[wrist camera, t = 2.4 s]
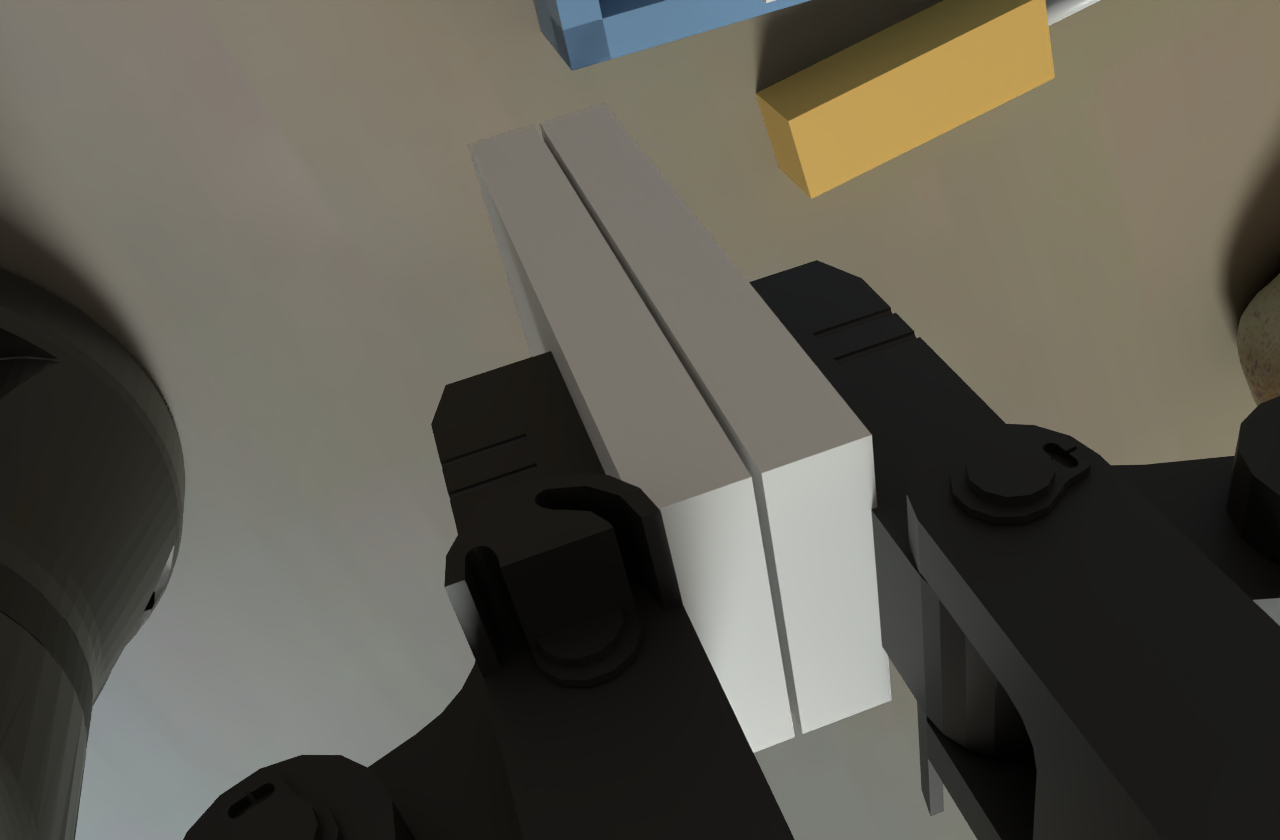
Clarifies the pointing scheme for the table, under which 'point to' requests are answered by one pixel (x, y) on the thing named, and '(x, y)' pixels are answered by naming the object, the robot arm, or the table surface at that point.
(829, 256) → the table surface
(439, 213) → the table surface
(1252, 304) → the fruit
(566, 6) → the switch bank
